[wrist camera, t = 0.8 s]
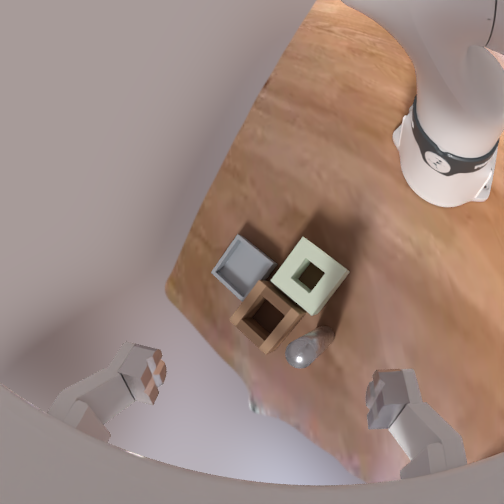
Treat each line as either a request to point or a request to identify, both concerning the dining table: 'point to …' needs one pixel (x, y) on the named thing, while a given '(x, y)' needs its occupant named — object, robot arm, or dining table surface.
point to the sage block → (296, 266)
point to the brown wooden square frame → (254, 329)
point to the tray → (243, 267)
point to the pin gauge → (309, 347)
